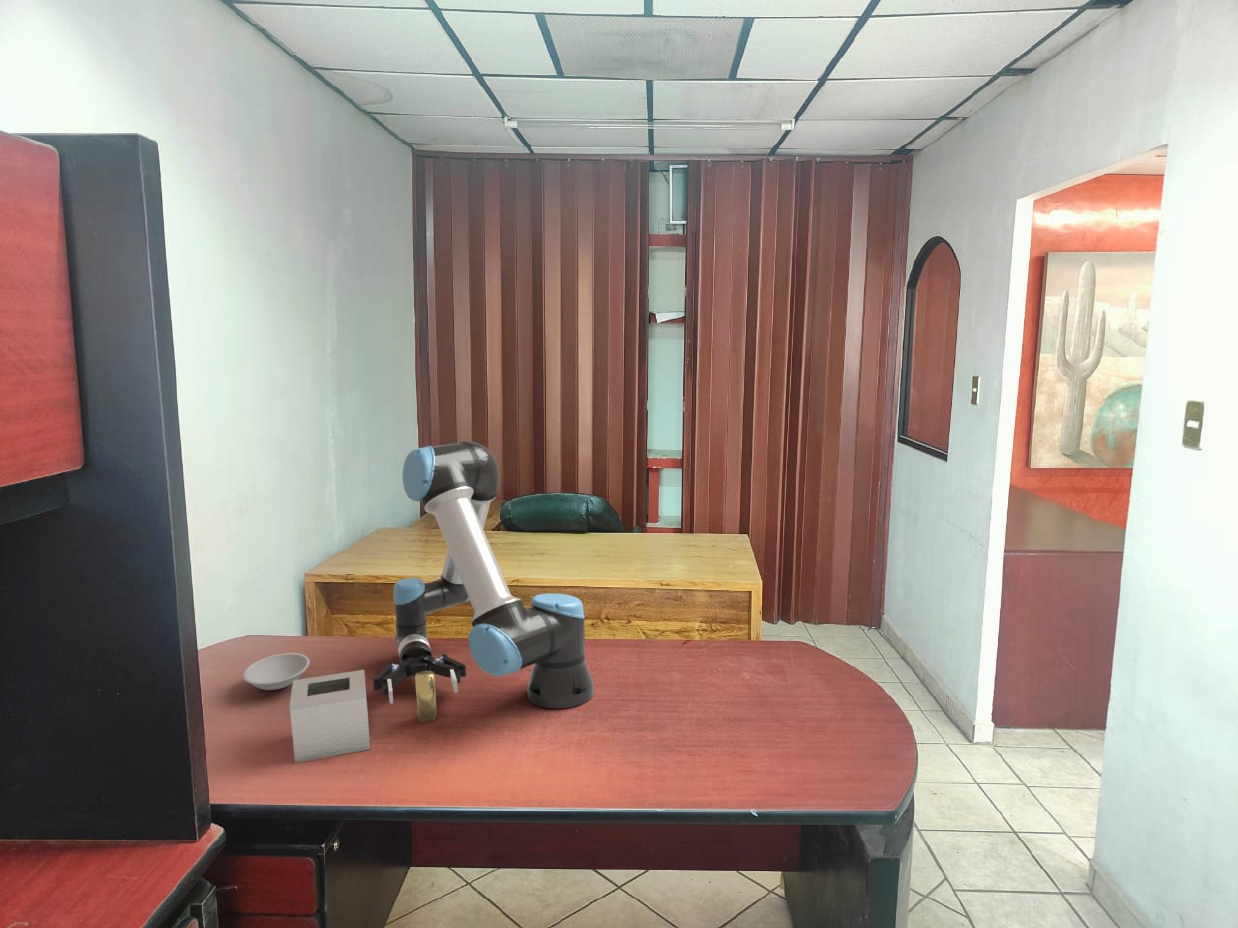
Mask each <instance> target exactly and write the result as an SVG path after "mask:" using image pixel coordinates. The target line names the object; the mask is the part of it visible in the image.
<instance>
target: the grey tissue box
mask: <svg viewBox="0 0 1238 928" xmlns="http://www.w3.org/2000/svg"><path fill="white" fill-rule="evenodd" d="M365 675H366V673H365V669H359V670H354V671H352V670H351V671H347V672H346V671H345V672H340V673H334V674H327V675H320V676H315V677H314V676H312V677H305V678H298V679H297V680H293V683H292V684H291V685H292V686H291V687H292V688H291V694H290V701H289V711H290V713H289V714H290V723H291V724H290V725H291V735H292V743H293V745H292V746H293V754H294V755H293V756H294V764H297V763H298V764H299V763H304V762H309V761H310V762H311V761H316V760H321V759H326V758H333V757H337V756H342V755H343V756H344V755H347V754H353V753H359V752H364V751H370V750H371V740H370V727H369V716H368V715H369V713H368V712H369V711H368V700H367V690H366V689H367V688H366V677H365Z"/></svg>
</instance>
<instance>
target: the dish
mask: <svg viewBox="0 0 1238 928" xmlns="http://www.w3.org/2000/svg"><path fill="white" fill-rule="evenodd" d="M310 663H311V661H310V658H309V657H308V656H307V655H305V654H302V653H296V652H285V653H277V654H273V655H270V656H266V657H264V658H260V659H258V660H257V661H255V662H253V663H251V664H250V665H249V666H247V667H246V668H245V670H244V671H243V673H242V679H243V680H244V681H245V682H246V683H248V684H251V685H252V686H253V687H255V688H258V689H260V690H264V691H274V690H280V689H283V688H286V687H288V686H291V685H293V680H299V679H300V678H301V676H302V675H303V674H304V673H305V671H306V670H307V669H308V668H309V666H310Z"/></svg>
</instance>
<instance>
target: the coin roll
mask: <svg viewBox="0 0 1238 928" xmlns="http://www.w3.org/2000/svg"><path fill="white" fill-rule="evenodd" d="M414 679H415V694H416V708H417V710H416V711H417V721H418V722H420V723H427V724H428V723H431V722H434V721H435V720H437V718H438V712H437V711H438V709H437V697H436V694H437V693H436V681H435V680H436V679H435V675H434V672H432V671H421V672H418V673H417V674H416V675H415V676H414Z"/></svg>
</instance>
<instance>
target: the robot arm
mask: <svg viewBox="0 0 1238 928" xmlns="http://www.w3.org/2000/svg"><path fill="white" fill-rule="evenodd" d="M407 454H408V455H406V457H405V459H404V462H403V467H402V484H403V490H404V492H405V494H406V497H408V498H409V499H410V500H412V501H414V502H421V504H422V506H423V508H424V511H425V513H428V514H430V515H433V516H434V518H435V519H436V523H437V524H438V527H439V529H440V531H441V534H442V536H443V540H444V541H445V544H446V547H447V550H446V555H445V557H444V558H445V560H444V563H443V568H442V572H441V575H440V578H439V579H436V580H432V581H429V582H426V583H425V582H424V580H423V579H422V578H419V577H410V578H403V579H400V580H398V581H396V582H395V584H394V586H393V599H392V600H393V609H394V617H395V643H396V646H397V651H398V656H399V658H398V659H399V663H398V664H394V663H393V661H389V662H387V663H386V666H385V667H384V668H383V669H382V670H381V671H380V672H378V674H377V675H376V676H375V677H373V679H372V681H373V691H375V692H377V691H379V690H380V689H382V694H383V695H384V696H385V695H388V699H389V701H388V702H389V704H394V696H393V695H394V694H393V693H394V691H393V687H395V686H396V685H397V684H399V683H400V682H401V681H403V680H408V679H409V678H411V677H413V676H414V677H415V675H416V674H417V673H418V672H421V671H432V672H434V676H435V675H436V676H440V677H445V678H449V679H450V683H451V687H452V690H453V693H454V694H456V693H458V692H459V687H458V684H460V683H461V677H462V678H466V677H467V668H466V664H463V663H461V662H460V661H457V660H455V659H453V658H451V657H449V656H448V655H447V654H445V653H442V654H441V656H440V657H439V658H435V657H434V656H433V653H432V649H431V645H430V642H429V637H428V626H427V614H430V613H433V612H437V611H440V610H443V609H446V608H449V607H454V606H457V605H462V604H464V603H467V602H470V604H471V607H472V609H473V616H472V618H471V621H470V622H471V623H470V624H471V626H472V628H471V629H470V631H469V633H468V647H469V651H470V654H471V657H472V658H473V660H474V662H475V663H476V665H477V666H478V667H479V668H480V669H481V670H482V671H483V672H485V673H487V674H488V675H490V676H493V677H503V676H505V675H509V674H515V673H517V672H518V671H520V670H522V669H524V668H526V667H529V666H532V669H531V670H532V671H531V673H530V676H529V681H528V683H527V689H526V690H527V699H528V700H529V701H530V703H532V704H533V705H536V706H538V707H540V708H545V709H554V710H555V709H556V710H559V709H560V710H561V709H569V708H575V707H577V706H580V705H583V704H585V703H587V702H588V701H589V700H591V699H592V698H593V696H594V693H595V691H594V690H595V687H594V680H593V678H592V675H591V673H590V670H589V667H588V664H587V662H586V643H585V640H586V639H585V637H586V635H585V632H586V631H585V618H586V616H585V614H584V613H585V612H584V604H583V601H581V600H580V599H579V598H578V597H576V596H573V595H570V594H565V593H564V594H563V593H556V592H555V593H550V592H549V593H540V594H537V595H534V596H533V597H532V598H531V602H530V605H531V607H530V608H527V609H526V608H525V606H524V603H523V601H522V599H521V598H519V597H515V596H513V595H512V594H511V591H510V589H509V586H508V584H507V582H506V580H505V577H504V575H503V572H502V569H501V567H500V565H499V563H498V562H497V561H498V560H497V559H496V556H495V554H494V552H493V549H492V547H491V545H490V542H489V540H488V537H487V536H486V533H485V531H484V529H485V525H486V520H487V517H488V513H489V510H490V506H491V502H493V501H494V500H495V499H496V498H497V495H498V492H499V488H500V479H501V477H500V476H501V474H500V467H499V465H498V462H497V460H496V458H495V456H494V454H493V453H492V452H491V451H490V449H488V448H487V447H486V446H484V445H482V444H480V443H478V442H475V441H470V440H469V441H460V442H453V443H447V444H441V445H440V444H437V445H432V446H431V445H426V446H424V447H419V448H415V449H413V450H411V451H410V452H409V453H407Z"/></svg>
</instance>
